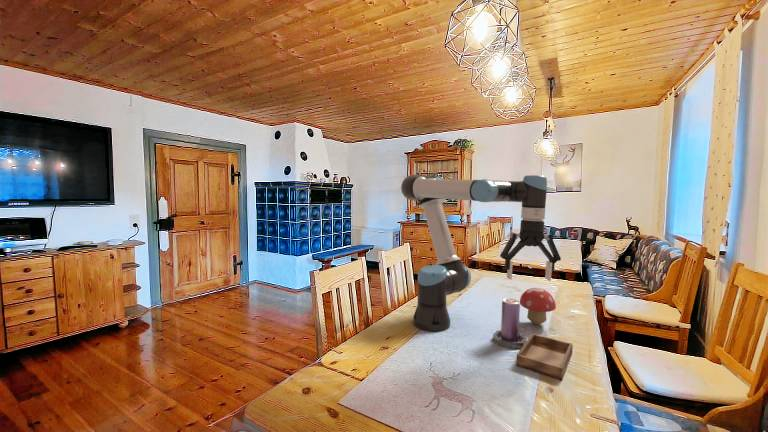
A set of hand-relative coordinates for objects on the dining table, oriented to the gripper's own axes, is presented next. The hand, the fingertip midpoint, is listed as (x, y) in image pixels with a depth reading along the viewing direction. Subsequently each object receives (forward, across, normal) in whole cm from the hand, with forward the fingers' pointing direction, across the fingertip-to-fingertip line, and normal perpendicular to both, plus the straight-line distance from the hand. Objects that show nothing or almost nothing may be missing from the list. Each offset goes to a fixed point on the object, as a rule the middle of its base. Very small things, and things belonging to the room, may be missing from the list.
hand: (528, 279), depth 113 cm
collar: (+23, -5, 0) cm, 24 cm away
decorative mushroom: (+24, +11, +16) cm, 31 cm away
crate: (+23, +2, -12) cm, 26 cm away
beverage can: (+24, -5, 0) cm, 24 cm away
